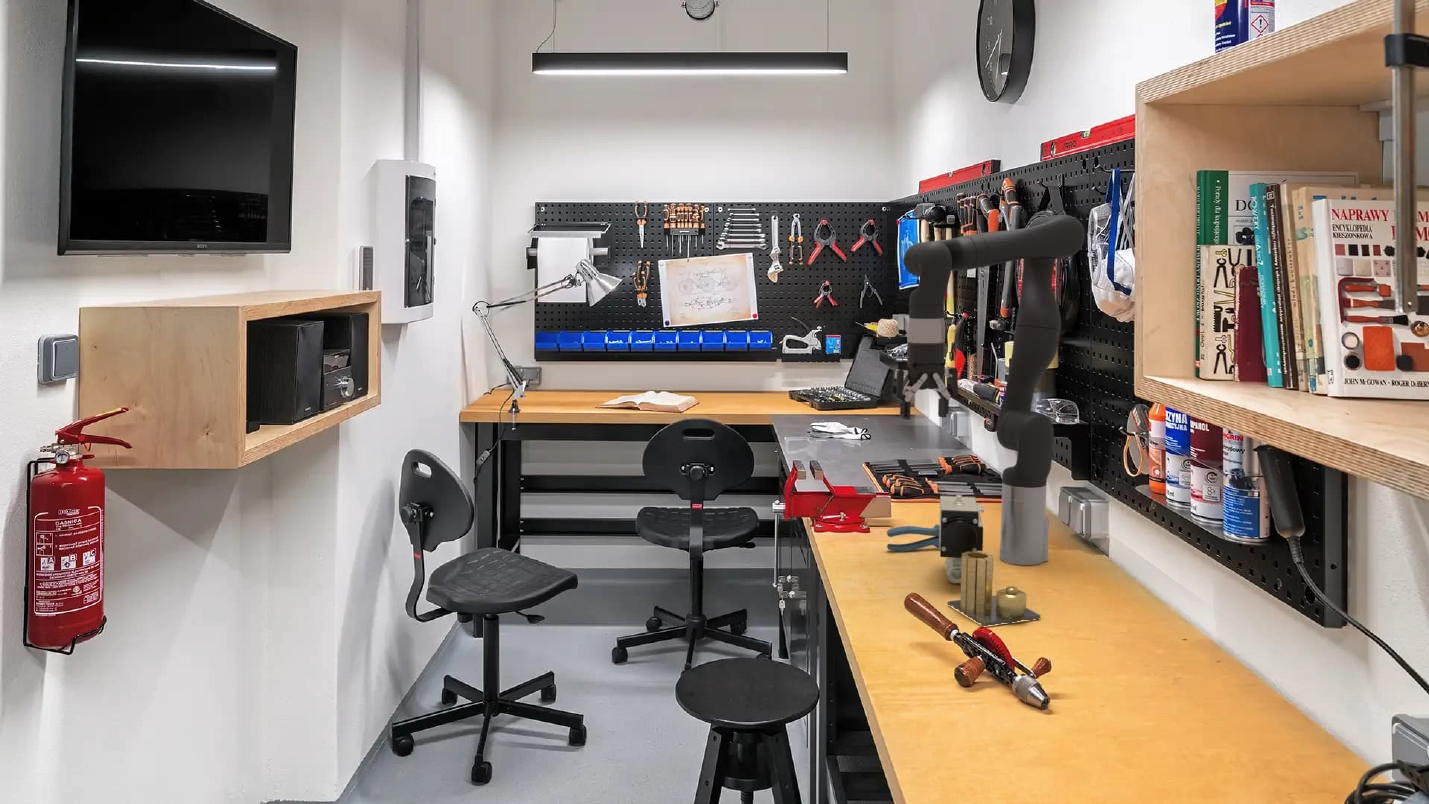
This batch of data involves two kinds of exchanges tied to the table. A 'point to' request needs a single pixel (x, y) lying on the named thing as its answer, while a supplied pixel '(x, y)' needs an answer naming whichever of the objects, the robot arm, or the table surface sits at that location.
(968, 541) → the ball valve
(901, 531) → the pliers
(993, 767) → the table surface
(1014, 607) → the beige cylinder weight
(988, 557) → the brass grooved sleeve
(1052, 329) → the robot arm
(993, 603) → the carrier plate
